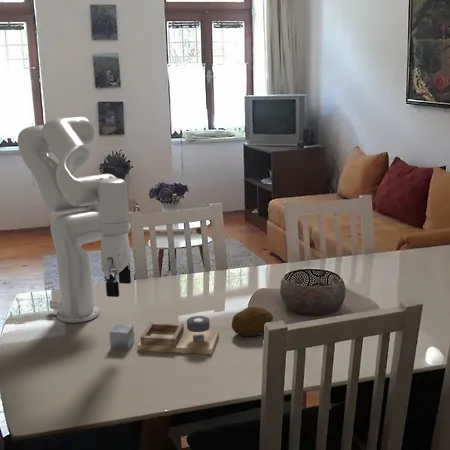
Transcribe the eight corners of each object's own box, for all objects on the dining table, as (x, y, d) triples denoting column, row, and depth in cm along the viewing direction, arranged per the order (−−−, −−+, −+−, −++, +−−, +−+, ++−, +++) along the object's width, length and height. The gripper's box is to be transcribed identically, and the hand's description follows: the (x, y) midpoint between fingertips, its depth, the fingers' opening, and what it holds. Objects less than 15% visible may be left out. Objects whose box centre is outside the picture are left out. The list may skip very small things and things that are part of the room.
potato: (226, 332, 173) (225, 307, 171) (263, 323, 179) (263, 298, 177) (241, 343, 166) (240, 317, 164) (279, 333, 172) (279, 307, 170)
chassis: (137, 350, 163) (136, 338, 162) (149, 332, 174) (148, 321, 173) (211, 354, 160) (211, 342, 159) (218, 336, 171) (218, 324, 170)
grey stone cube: (110, 349, 165) (109, 331, 163) (116, 340, 169) (115, 324, 168) (128, 350, 164) (127, 332, 162) (134, 342, 169) (133, 325, 167)
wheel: (184, 331, 162) (184, 324, 162) (189, 322, 168) (189, 315, 168) (207, 332, 161) (207, 325, 161) (211, 323, 167) (211, 316, 167)
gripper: (112, 218, 167) (116, 278, 171) (88, 235, 150) (93, 301, 155) (138, 218, 165) (142, 278, 170) (117, 236, 149) (122, 302, 153)
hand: (119, 289), depth 162 cm, fingers open, 9 cm apart
